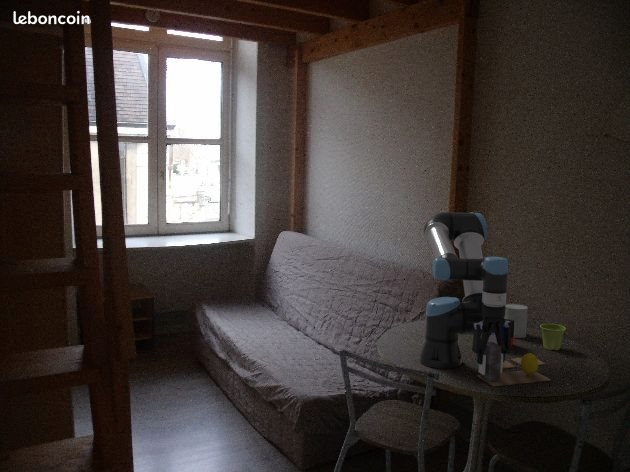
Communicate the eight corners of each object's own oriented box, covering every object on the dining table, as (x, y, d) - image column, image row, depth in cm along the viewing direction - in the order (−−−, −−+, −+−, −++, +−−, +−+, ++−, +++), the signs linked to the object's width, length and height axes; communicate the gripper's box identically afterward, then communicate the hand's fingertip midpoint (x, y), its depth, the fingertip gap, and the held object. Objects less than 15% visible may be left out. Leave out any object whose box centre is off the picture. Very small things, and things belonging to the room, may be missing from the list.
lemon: (534, 372, 200) (535, 350, 199) (539, 378, 195) (541, 355, 194) (517, 372, 200) (519, 350, 200) (523, 378, 195) (524, 355, 194)
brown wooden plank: (492, 369, 204) (492, 368, 204) (480, 362, 212) (480, 361, 212) (546, 364, 210) (546, 363, 210) (532, 357, 218) (532, 356, 218)
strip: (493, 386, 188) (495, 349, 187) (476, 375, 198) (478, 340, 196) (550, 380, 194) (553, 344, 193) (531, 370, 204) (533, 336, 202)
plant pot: (556, 353, 223) (558, 331, 222) (534, 347, 230) (535, 326, 229) (569, 349, 229) (570, 327, 228) (546, 343, 236) (547, 322, 235)
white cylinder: (504, 330, 254) (505, 302, 253) (527, 333, 250) (529, 305, 249) (501, 335, 246) (502, 307, 244) (524, 339, 242) (526, 310, 240)
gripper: (474, 308, 184) (471, 378, 187) (525, 305, 189) (521, 373, 192) (462, 303, 191) (459, 371, 194) (511, 300, 197) (508, 366, 199)
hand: (490, 372), depth 193 cm, fingers open, 6 cm apart
